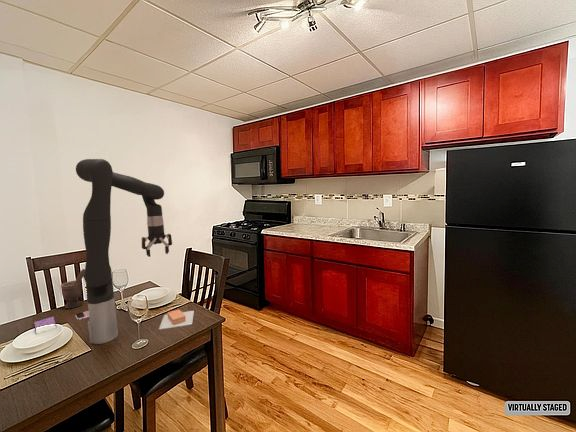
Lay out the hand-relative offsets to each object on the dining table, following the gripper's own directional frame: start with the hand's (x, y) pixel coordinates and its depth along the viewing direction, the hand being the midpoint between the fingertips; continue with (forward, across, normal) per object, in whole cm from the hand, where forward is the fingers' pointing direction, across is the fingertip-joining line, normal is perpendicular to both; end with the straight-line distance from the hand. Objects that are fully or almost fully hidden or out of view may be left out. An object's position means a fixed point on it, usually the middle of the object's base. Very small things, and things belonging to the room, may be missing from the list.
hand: (158, 255), depth 141 cm
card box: (+26, +1, -17) cm, 31 cm away
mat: (+28, +1, -21) cm, 35 cm away
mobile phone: (+29, -29, +17) cm, 44 cm away
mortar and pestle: (+28, -35, +34) cm, 56 cm away
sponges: (+29, -48, +16) cm, 58 cm away
